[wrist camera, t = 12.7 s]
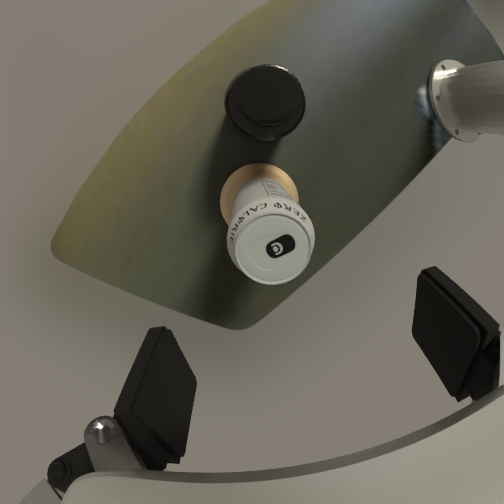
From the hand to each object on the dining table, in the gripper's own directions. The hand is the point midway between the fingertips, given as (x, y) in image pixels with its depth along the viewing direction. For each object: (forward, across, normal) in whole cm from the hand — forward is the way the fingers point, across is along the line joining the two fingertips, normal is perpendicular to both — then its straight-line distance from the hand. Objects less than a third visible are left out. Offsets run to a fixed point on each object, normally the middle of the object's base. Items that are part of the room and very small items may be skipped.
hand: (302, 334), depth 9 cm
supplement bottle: (+24, -2, -10) cm, 26 cm away
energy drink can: (+24, +1, 0) cm, 24 cm away
